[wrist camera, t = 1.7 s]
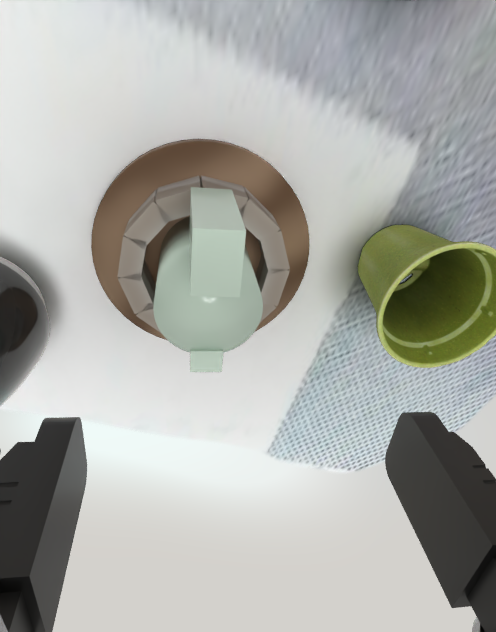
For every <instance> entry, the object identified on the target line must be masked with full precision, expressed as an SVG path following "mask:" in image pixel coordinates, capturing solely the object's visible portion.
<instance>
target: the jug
mask: <svg viewBox="0 0 496 632" xmlns="http://www.w3.org/2000/svg"><path fill="white" fill-rule="evenodd" d="M245 238H246V229H245V226H244V223H243V220H242V217H241V214H240V211H239V209H238V206H237V203H236V200H235V197H234V194H233V191H232V190H230V189H214V188H198V187H191V194H190V217H187V218H184V219H182V220H181V221H179V222H177V223H176V224H175V225H174V226H173V227H172V228H171V229H170V230H169V231H168V232H167V234H166V235H165V237H164V239H163V242H162V245H161V250H160V258H159V265H158V273H157V281H156V289H155V297H154V307H153V311H154V318H155V322H156V324H157V326H158V328H159V330H160V332H161V333H162V334H163V336H164V337H165V338H166V339H167V340H168V341H169V342H170V343H172V344H173V345H175V346H176V347H178V348H180V349H182V350H185V351H187V352H190V372H222V361H223V352H227V351H229V350H232V349H234V348H236V347H238V346H240V345H241V344H242V343H244V342H245V341H246V340H247V339H249V338H250V336H251V335H252V334H253V333H254V332H255V330H256V329H257V327H258V325H259V323H260V320H261V317H262V312H263V300H262V295H261V292H260V289H259V286H258V282H257V279H256V276H255V273H254V270H253V267H252V264H251V261H250V257H249V254H248V251H247V248H246V245H245Z"/></svg>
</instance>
